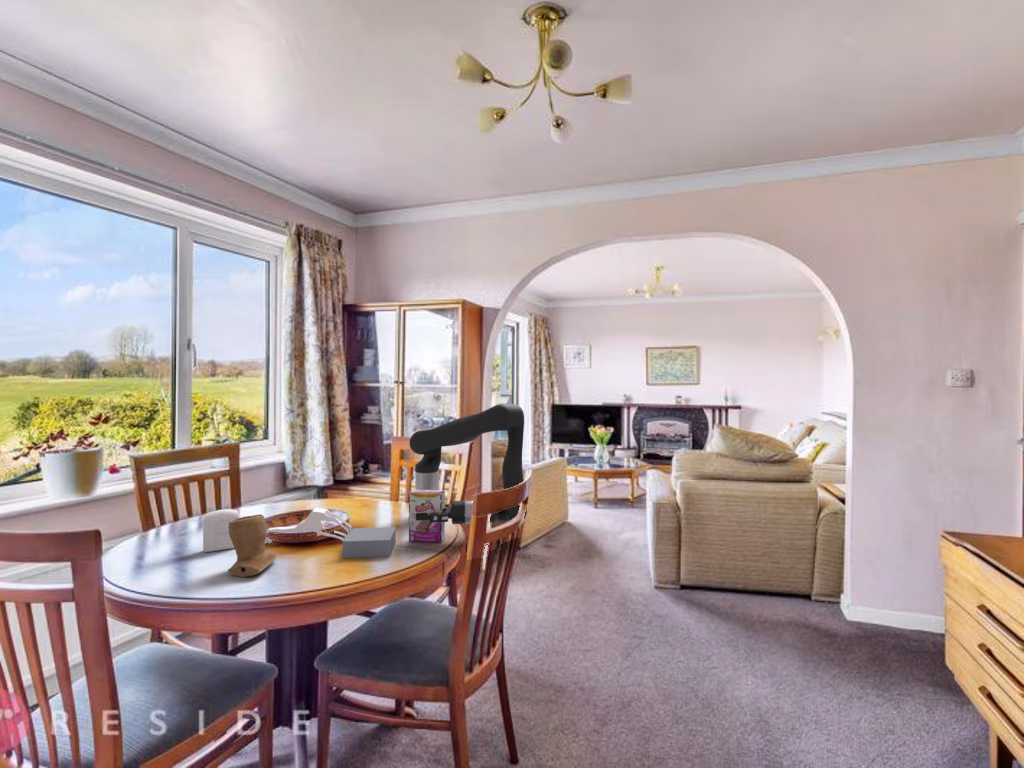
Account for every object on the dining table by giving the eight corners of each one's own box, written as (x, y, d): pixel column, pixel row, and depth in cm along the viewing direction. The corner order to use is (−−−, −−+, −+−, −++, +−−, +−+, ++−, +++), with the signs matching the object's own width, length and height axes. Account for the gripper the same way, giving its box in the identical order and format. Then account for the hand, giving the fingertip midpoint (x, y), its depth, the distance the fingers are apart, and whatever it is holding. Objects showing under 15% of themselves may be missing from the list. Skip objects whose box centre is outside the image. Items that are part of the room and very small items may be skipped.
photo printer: (239, 544, 177) (238, 506, 177) (240, 547, 173) (240, 509, 173) (202, 550, 171) (202, 510, 171) (203, 553, 168) (203, 513, 167)
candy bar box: (408, 542, 178) (407, 492, 178) (412, 537, 183) (412, 489, 183) (442, 543, 177) (441, 492, 177) (445, 538, 182) (445, 489, 182)
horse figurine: (336, 564, 183) (264, 538, 181) (355, 519, 183) (283, 492, 181) (333, 570, 178) (259, 543, 176) (352, 523, 178) (278, 495, 176)
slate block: (352, 543, 177) (351, 528, 177) (395, 542, 178) (395, 527, 178) (342, 558, 163) (342, 541, 163) (390, 556, 164) (390, 539, 164)
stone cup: (240, 560, 161) (239, 510, 161) (281, 560, 162) (281, 509, 161) (214, 580, 146) (214, 524, 146) (260, 579, 146) (259, 523, 146)
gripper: (465, 496, 188) (418, 497, 187) (466, 506, 174) (414, 507, 172) (466, 517, 188) (418, 519, 187) (466, 529, 174) (415, 531, 173)
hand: (416, 513), depth 180 cm, fingers open, 8 cm apart
